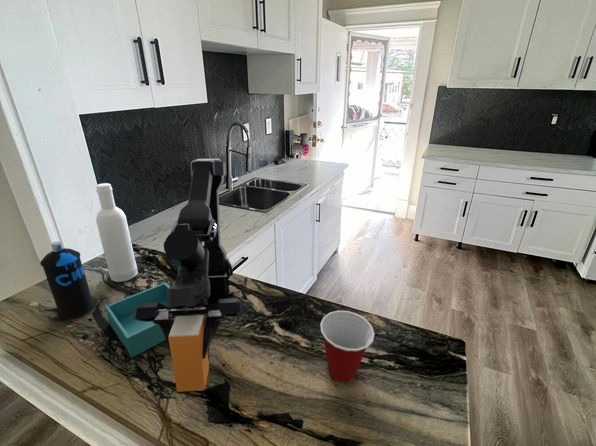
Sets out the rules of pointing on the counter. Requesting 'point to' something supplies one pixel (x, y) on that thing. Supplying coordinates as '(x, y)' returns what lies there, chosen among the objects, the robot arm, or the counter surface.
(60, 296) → the aerosol can
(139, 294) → the bin
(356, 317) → the plastic cup
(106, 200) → the bottle
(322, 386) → the counter surface
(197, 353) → the drink carton
